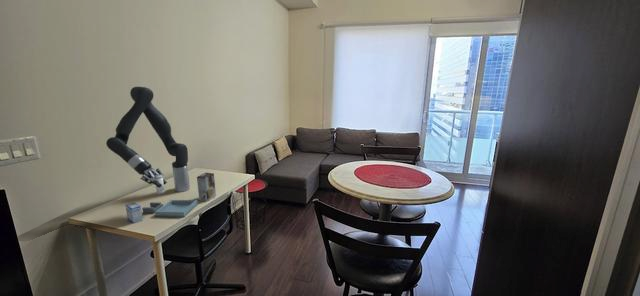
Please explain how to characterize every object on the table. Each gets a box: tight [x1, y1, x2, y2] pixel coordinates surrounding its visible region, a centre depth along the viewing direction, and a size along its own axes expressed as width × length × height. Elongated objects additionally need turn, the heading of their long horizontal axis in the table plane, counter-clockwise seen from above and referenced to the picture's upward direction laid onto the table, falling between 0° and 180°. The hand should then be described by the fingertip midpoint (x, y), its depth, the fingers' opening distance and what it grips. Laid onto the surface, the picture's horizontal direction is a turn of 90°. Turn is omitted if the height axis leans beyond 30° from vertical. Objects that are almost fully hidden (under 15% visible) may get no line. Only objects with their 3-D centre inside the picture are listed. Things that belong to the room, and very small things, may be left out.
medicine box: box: [125, 202, 143, 224], centre depth 146 cm, size 8×4×9 cm, turn 56°
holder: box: [141, 201, 164, 214], centre depth 158 cm, size 8×7×3 cm
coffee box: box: [196, 172, 217, 202], centre depth 173 cm, size 9×6×16 cm
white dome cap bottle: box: [155, 174, 165, 195], centre depth 154 cm, size 4×4×10 cm
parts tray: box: [154, 199, 198, 218], centre depth 158 cm, size 16×16×3 cm
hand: (163, 184), depth 154 cm, fingers closed on white dome cap bottle, 4 cm apart
